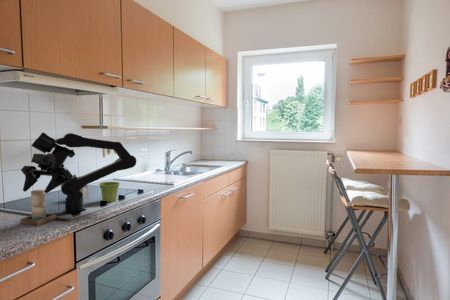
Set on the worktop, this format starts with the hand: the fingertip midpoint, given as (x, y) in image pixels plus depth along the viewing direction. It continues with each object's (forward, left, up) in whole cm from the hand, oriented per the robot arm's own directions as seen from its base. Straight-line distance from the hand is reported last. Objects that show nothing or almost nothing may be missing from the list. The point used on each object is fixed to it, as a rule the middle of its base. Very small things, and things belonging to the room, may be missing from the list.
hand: (34, 191), depth 108 cm
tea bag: (-34, -9, -12) cm, 38 cm away
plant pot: (-36, +6, -12) cm, 39 cm away
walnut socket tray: (-1, 0, -12) cm, 12 cm away
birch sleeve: (-2, 0, -11) cm, 11 cm away
